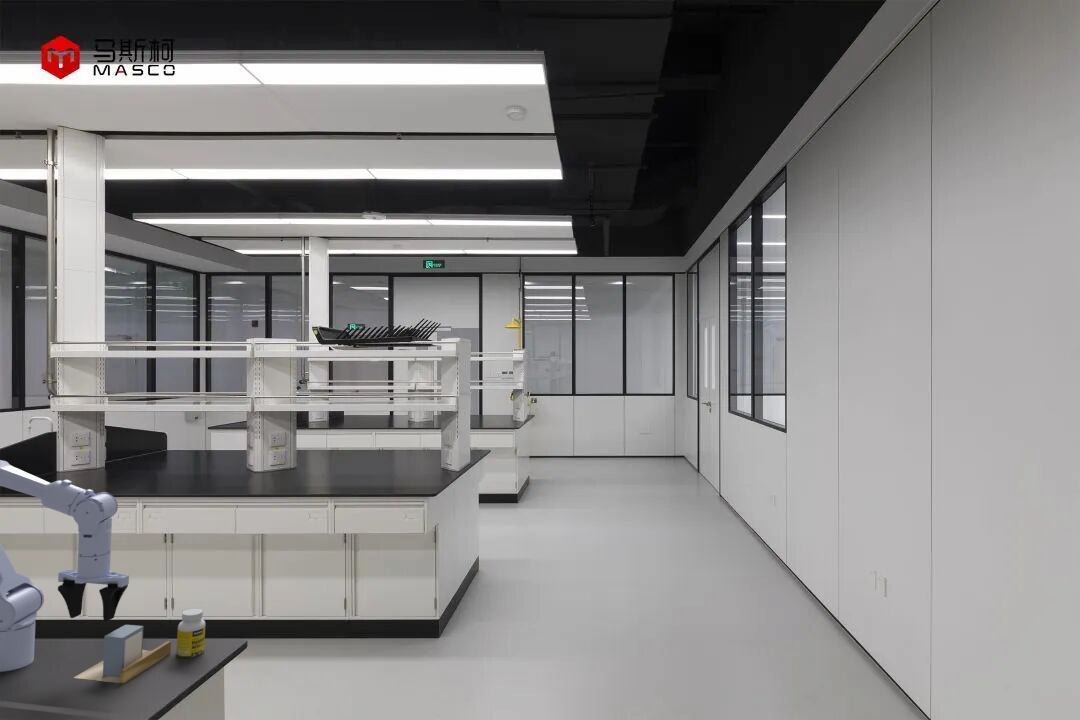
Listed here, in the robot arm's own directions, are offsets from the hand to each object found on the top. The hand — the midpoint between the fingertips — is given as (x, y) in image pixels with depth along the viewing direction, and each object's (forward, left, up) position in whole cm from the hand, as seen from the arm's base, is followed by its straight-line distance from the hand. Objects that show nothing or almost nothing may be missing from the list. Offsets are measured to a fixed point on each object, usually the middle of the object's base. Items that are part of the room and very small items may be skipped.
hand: (92, 617), depth 141 cm
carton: (+8, -1, -10) cm, 13 cm away
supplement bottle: (+16, +9, -11) cm, 21 cm away
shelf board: (+7, +1, -10) cm, 12 cm away
